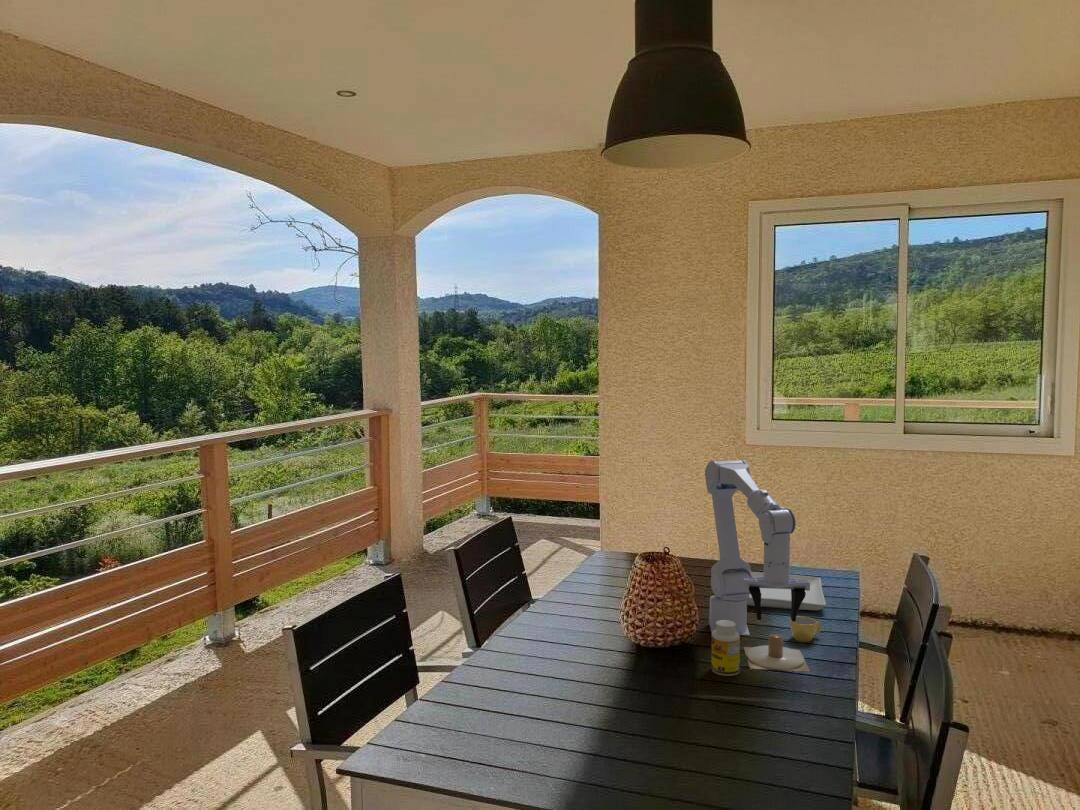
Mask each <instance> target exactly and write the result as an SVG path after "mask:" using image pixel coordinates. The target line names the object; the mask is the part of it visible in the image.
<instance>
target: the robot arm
mask: <svg viewBox="0 0 1080 810" xmlns="http://www.w3.org/2000/svg"><path fill="white" fill-rule="evenodd" d="M704 477H705V485H706V489H707V493H708V494H710V495H711V499H712V506H713V513H714V514H713V516H714V523H715V528H716V529H715V530H716V537H717V544H718V545H717V546H718V553H719V559H718V560H717V561H716V562H715V563H714V564H713V565H712V567H711V568H710V571H711V572H710V573H711V575H710V576H711V578H710V587H711V591H712V593H713V594H714V595H710V597H709V617H708V625H709V630H710V632H711V634H712V632H713V631H714V630H716V628H715V627H716V622H717V621H719V620H729V621H733V622H734V623H735V624H736V632H738V633H739V635H740V636H743V635H744V636H750V635H751V634H750V632H749V628H748V625H747V623H748V622H747V619H748V617H747V616H748V612H747V610H748V605H747V598H750V594H751V596H752V598H753V601H754V604H755V606H754V607H755V612H756V613H755V614H756V619H757V620H758V621H762V610H761V609H762V608H761V592H760V588H773V589H791V600H792V605H791V609H790V618H791V619H792V621H796V616H798V612H799V611H800V610H799V607H800V605H801V603H802V601H803V599H804V598H805V595H806V592H805V590H806V591H810V582H809V580H800V579H792V578H789V574H790V570H791V568H790V567H791V565H790V564H791V563H790V562H791V561H790V559H791V534H793V533H794V532H795V530H796V524H797V522H796V517H795V514H794V513H793V512H792V511H793V510H791V509H790V508H789V507H784V506H780V505H779V503H778V502H777V501H776V500H775V499H774V498H773V496H772V495H771V494H770V493H769V492H768V491H767V490H766V489H761V488H759V487H758V486H757V484H756V482H755V481H754V479H753V478H752V476H751V471H750V465H749V464H748V463H747V461H746V460H744V459H743V458H740V459H728V460H713V459H712V460H710V461H708V463H707V464H706V467H705V469H704ZM739 491H740V492H741V493H742V494H743V495H744V496H745V497H746V498H747V499H746V505H747V507H748V508H749V509H750V510H751V512H752V513H753V514H754V515H755V517H756V518H757V519H758V526H759V530H760V532H761V533H760V534H761V540H762V542H763V572H764V577H757V578H753V575H752V573H751V572H752V570H751V565H750V564H749V563H748V562H746V561H745V560H744V559H742V558H741V554H740V548H739V547H740V546H739V540H738V539H739V538H738V531H737V525H736V518H735V510H734V503H733V497H734V494H735V493H738V492H739ZM734 569H735V570H734ZM728 570H730V571H728Z"/></svg>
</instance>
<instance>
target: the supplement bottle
mask: <svg viewBox="0 0 1080 810" xmlns="http://www.w3.org/2000/svg"><path fill="white" fill-rule="evenodd" d="M715 628H716V630H714V631H713V632H712V633H711V656H710V657H711V671H712V673H715V674H716V675H719V676H720V675H721V676H725V677H726V676H735V675H738V674H739V673H740V669H741V668H740V665H741V659H740V657H741V655H740V654H741V653H740V652H741V648H740V647H741V635H739V633H738V632H736V624H735V623H734V622H733V621H729V620H719V621H717V622H716V627H715Z"/></svg>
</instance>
